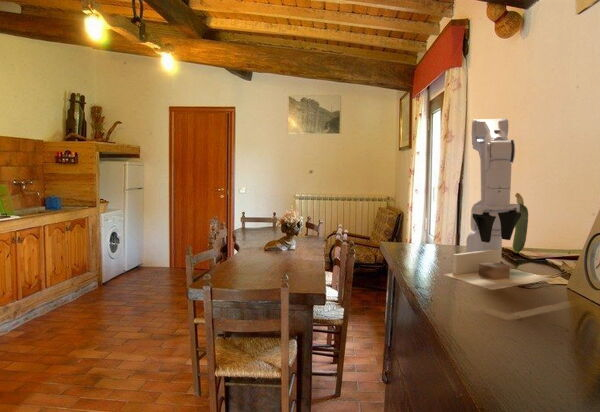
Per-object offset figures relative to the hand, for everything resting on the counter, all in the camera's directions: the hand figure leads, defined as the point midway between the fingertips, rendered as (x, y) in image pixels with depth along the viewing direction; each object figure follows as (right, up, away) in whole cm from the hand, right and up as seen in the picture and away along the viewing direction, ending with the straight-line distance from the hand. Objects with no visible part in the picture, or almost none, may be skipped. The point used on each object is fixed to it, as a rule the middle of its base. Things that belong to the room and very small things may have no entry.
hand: (495, 240), depth 108 cm
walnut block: (-2, -9, -3) cm, 9 cm away
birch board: (-1, -10, -3) cm, 10 cm away
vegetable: (+21, -7, +29) cm, 36 cm away
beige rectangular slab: (-4, -8, +3) cm, 9 cm away
